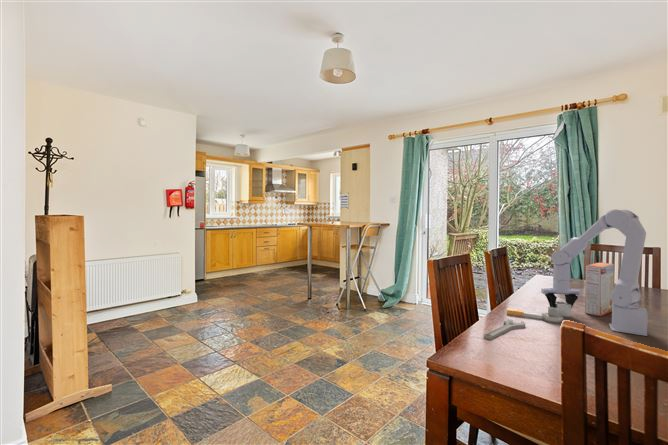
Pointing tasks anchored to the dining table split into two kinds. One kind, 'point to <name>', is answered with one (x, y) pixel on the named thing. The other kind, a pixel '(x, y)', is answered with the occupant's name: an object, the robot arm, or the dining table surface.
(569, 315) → the socket
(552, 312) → the ratchet
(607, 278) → the cracker box
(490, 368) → the dining table surface
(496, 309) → the dining table surface
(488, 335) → the adjustable wrench
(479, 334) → the dining table surface
